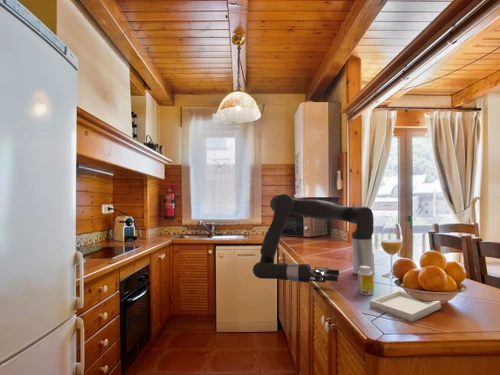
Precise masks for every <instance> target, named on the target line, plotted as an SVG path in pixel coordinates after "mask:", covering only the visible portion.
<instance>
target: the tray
mask: <svg viewBox="0 0 500 375" xmlns="http://www.w3.org/2000/svg"><path fill="white" fill-rule="evenodd" d="M406 292H407V291H403V290H400V289H398V290H395V291H392V292H389V293H386V294H384V295H380V296H377V297H375V298H372V299H369V308H371V309H375V310H378V311H381V312H384V313H386V314H389V315H391V316H395V317H398V318H400V319H403V320H406V321H409V322H411V323H413V322H415V321H418V320H420V319H422V318H424V317H426V316H428V315H431V314H432V313H434V312H436V311H438V310H440V309H441V308H442V303H441V301H440V300H437V301H432V302H421V301H419V300H417V299H415V298H413V297H411V296H409V295H408V294H407V293H406Z"/></svg>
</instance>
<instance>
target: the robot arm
mask: <svg viewBox="0 0 500 375" xmlns="http://www.w3.org/2000/svg"><path fill="white" fill-rule="evenodd" d="M269 204H270V208H271V210H272V211H273V212H274V214H273V218H272V221H271V223H270V226H269V228H268V230H267V231H266V234H265V235H264V238H263V240H262V244H261V248H260V261H259V262H256V263H255V264H254V265H253V267H252V273H253V275H254V276H255V278H258V279H263V280H264V279H267V280H268V279H270V280H274V279H275V280H281V281H289V282H295V283H298V282H299V283H306V284H309V283H310V282H313V283H314V282H315V283H324V284H325V283H327V282H338V281H339V276H340V271H339V270H338V269H332V268H331V269H330V268H329V267H321V266H314V268H312V267H311V264H308V263H296V262H295V263H291V262H290V263H288V262H287V263H285V262H278V263H275V256H276V254H277V250H278V247H279V244H280V240H281V237H282V234H283V231H284V228H285V226H286V223H287V222H288V221H287V220H288V219H289V216H290V215H291V214H292V215H299V216H303V217H307V218H310V219H311V218H312V219H316V220H322V221H323V220H324V221H344V222H347V223H351V224H354V225H356V228H355V231H352V233H351V243H352V244H351V245H352V267H353V269H352V270H353V273H354V274H355V275H358V271H360V266H369V267H370V269H371V272H372V273H373V275H374V274H375V272H376V271H375V255H374V252H373V249H374V248H373V235H374V222H375V221H374V214H373V213H374V212H373V210H372V209H371V208H369V207H368V206H361V205H360V206H358V205H356V206H347V205H339V204H336V203H335V202H331V201H327V200H321V199H297V198H293V197H292V196H291V195H290V194H287V193H281V194H277V195H275V196H273V197H272V198H271V200H270V201H269Z"/></svg>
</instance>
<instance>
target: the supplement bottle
mask: <svg viewBox="0 0 500 375" xmlns="http://www.w3.org/2000/svg"><path fill="white" fill-rule="evenodd" d="M357 285H358V286H357V287H358V290H357V291H358V293H360V294H361V295H364V296H372V295H374V293H375V290H374V289H375V288H374V274H373V273H372V272H371V269H370V267H369V266H360V271H358V274H357Z"/></svg>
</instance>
